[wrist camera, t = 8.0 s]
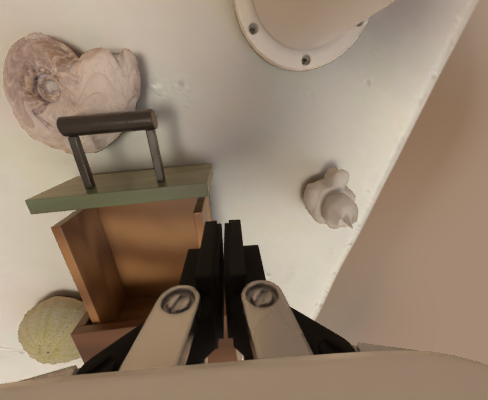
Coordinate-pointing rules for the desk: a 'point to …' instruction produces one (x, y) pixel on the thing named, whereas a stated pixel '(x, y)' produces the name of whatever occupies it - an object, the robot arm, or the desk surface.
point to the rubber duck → (331, 200)
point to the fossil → (67, 87)
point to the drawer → (126, 221)
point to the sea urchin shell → (52, 330)
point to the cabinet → (103, 335)
